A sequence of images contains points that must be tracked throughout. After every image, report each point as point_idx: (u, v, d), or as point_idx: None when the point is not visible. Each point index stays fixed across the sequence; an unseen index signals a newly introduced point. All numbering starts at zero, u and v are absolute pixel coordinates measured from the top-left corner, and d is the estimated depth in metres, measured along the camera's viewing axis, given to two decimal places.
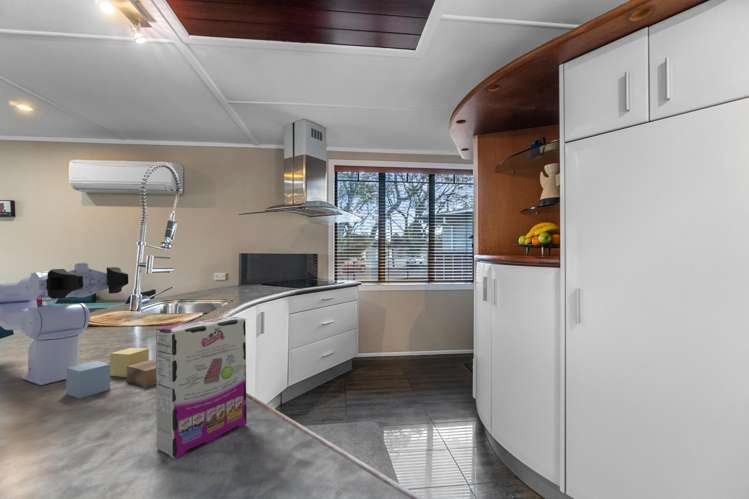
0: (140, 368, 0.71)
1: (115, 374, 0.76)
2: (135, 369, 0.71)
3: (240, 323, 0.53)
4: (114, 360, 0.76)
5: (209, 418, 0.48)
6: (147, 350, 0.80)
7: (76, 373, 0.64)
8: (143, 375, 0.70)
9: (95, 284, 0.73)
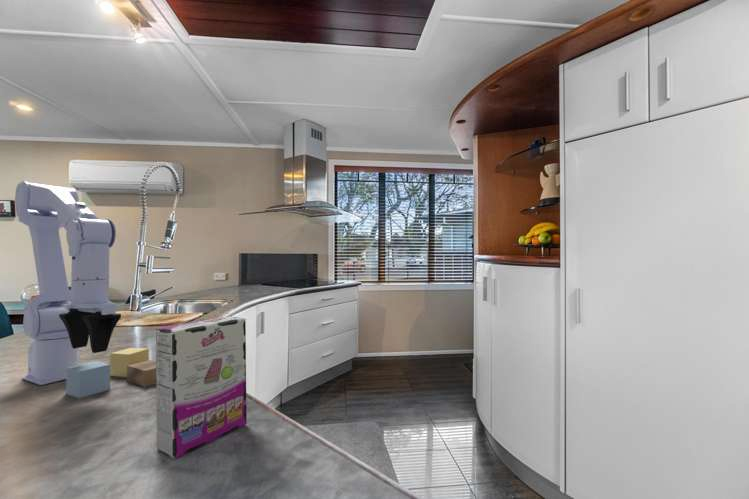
0: (140, 368, 0.71)
1: (115, 374, 0.76)
2: (135, 369, 0.71)
3: (240, 323, 0.53)
4: (114, 360, 0.76)
5: (209, 418, 0.48)
6: (147, 350, 0.80)
7: (76, 373, 0.64)
8: (142, 375, 0.70)
9: None
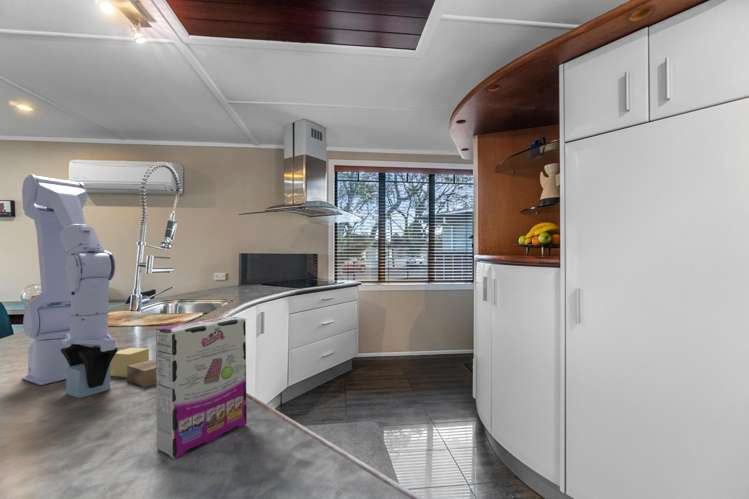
0: (139, 368, 0.71)
1: (115, 374, 0.76)
2: (135, 369, 0.71)
3: (240, 323, 0.53)
4: (114, 360, 0.76)
5: (209, 418, 0.48)
6: (147, 350, 0.80)
7: (76, 372, 0.64)
8: (141, 375, 0.70)
9: None
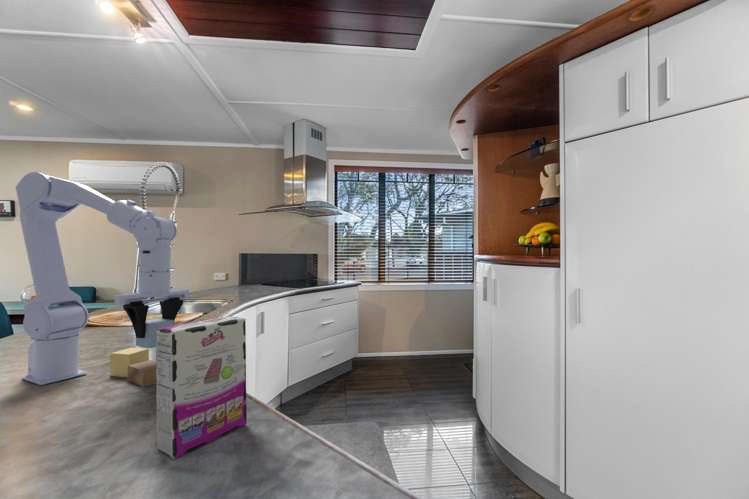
0: (139, 368, 0.71)
1: (115, 374, 0.76)
2: (134, 369, 0.71)
3: (240, 323, 0.53)
4: (114, 360, 0.76)
5: (209, 418, 0.48)
6: (147, 350, 0.80)
7: (167, 323, 0.74)
8: (140, 375, 0.70)
9: None
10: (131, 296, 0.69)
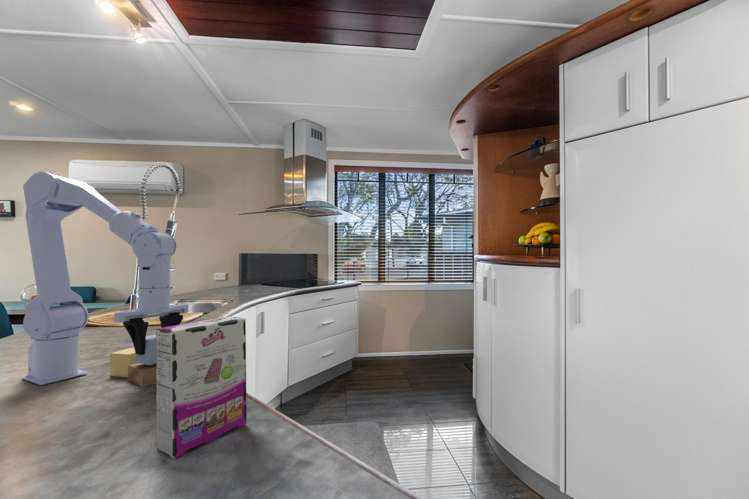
0: (139, 368, 0.71)
1: (115, 374, 0.76)
2: (134, 369, 0.71)
3: (240, 323, 0.53)
4: (114, 360, 0.76)
5: (209, 418, 0.48)
6: None
7: None
8: (140, 375, 0.70)
9: None
10: (131, 313, 0.69)
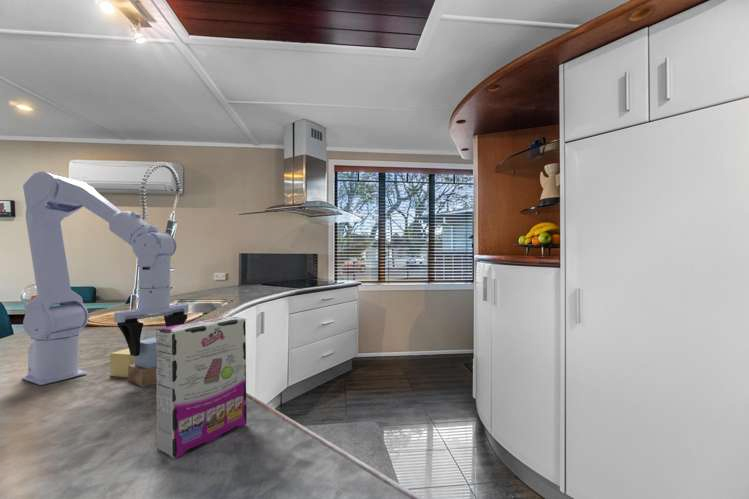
0: (139, 368, 0.71)
1: (115, 374, 0.76)
2: (134, 369, 0.72)
3: (240, 323, 0.53)
4: (114, 360, 0.76)
5: (209, 418, 0.48)
6: None
7: None
8: (140, 375, 0.70)
9: None
10: (131, 313, 0.69)
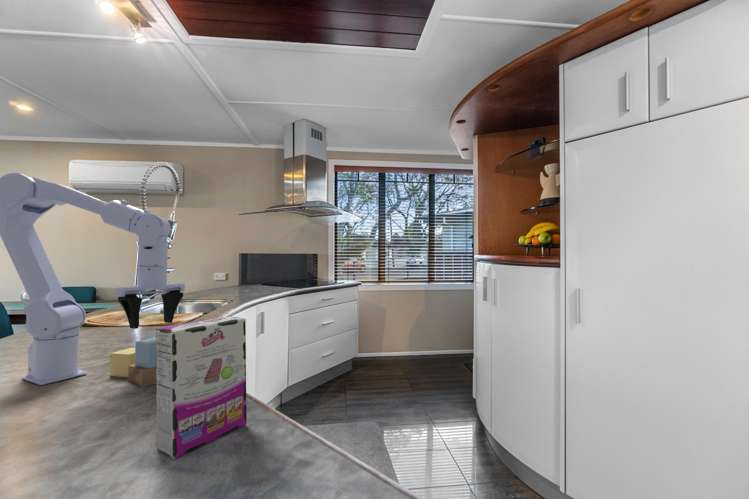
0: (139, 368, 0.71)
1: (115, 374, 0.76)
2: (134, 369, 0.72)
3: (240, 323, 0.53)
4: (114, 360, 0.76)
5: (209, 418, 0.48)
6: None
7: None
8: (140, 375, 0.70)
9: (159, 289, 0.82)
10: (130, 288, 0.75)
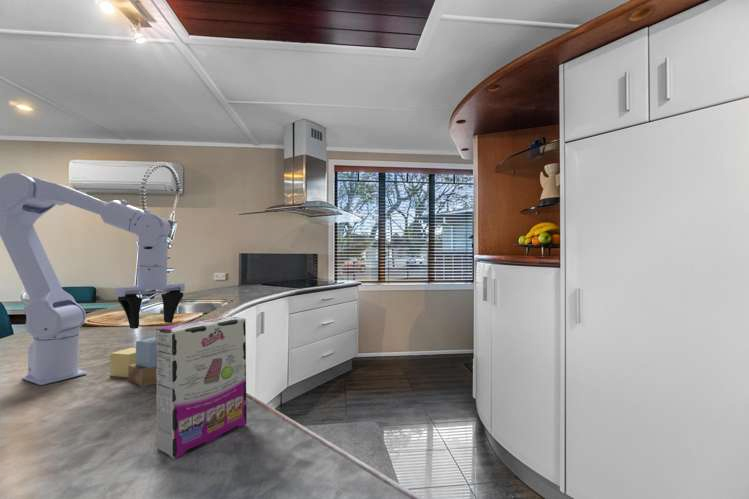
0: (139, 368, 0.71)
1: (115, 374, 0.76)
2: (134, 369, 0.72)
3: (240, 323, 0.53)
4: (114, 360, 0.76)
5: (209, 418, 0.48)
6: None
7: None
8: (140, 375, 0.70)
9: (159, 289, 0.82)
10: (130, 288, 0.75)
